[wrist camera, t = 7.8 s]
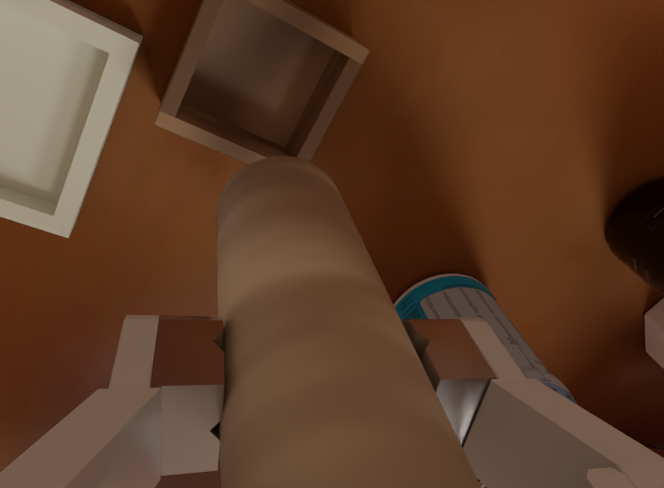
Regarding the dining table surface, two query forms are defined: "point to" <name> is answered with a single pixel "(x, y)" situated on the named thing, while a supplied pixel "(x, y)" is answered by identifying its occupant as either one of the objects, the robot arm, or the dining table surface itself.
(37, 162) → the tray
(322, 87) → the open square box
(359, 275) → the dowel
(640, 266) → the supplement bottle
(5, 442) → the dining table surface
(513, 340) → the beverage bottle
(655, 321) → the jar
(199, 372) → the robot arm
